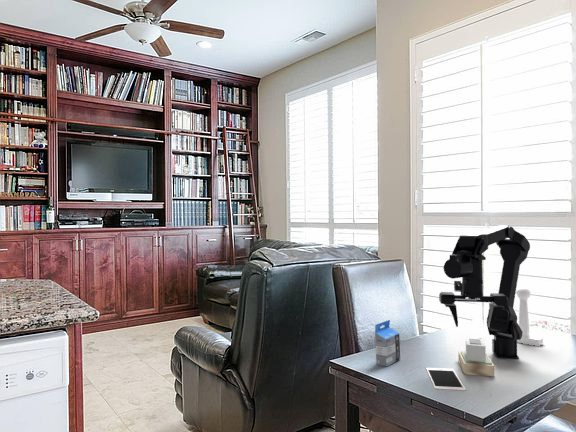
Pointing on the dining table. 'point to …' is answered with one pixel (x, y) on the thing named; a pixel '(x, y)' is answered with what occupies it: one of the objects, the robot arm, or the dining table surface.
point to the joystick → (526, 319)
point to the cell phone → (445, 379)
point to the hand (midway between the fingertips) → (473, 327)
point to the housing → (475, 349)
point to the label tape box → (386, 344)
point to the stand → (476, 366)
